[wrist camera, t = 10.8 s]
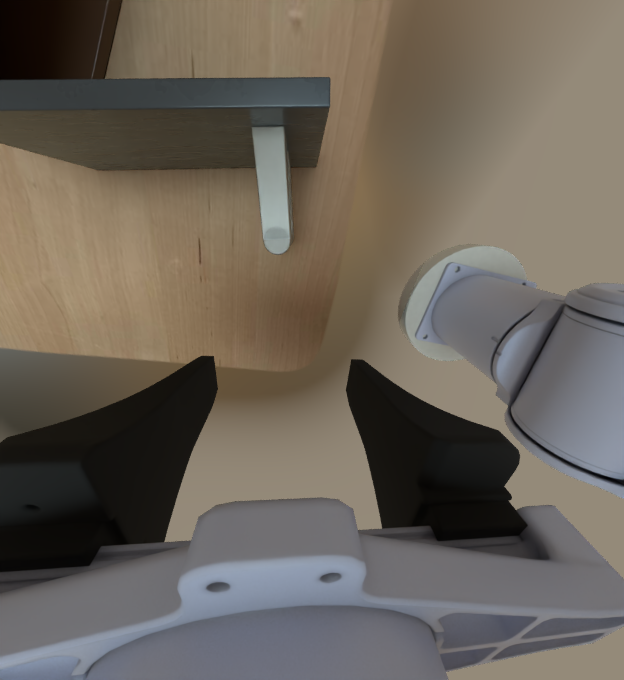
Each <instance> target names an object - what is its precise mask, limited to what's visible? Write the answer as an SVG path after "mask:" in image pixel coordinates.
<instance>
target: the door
mask: <svg viewBox="0 0 624 680" xmlns="http://www.w3.org/2000/svg"><path fill="white" fill-rule="evenodd" d="M329 108H330V78H329V77H295V78H167V79H40V80H0V143H1V144H5V145H9V146H12V147H16V148H19V149H23V150H27V151H30V152H34V153H38V154H41V155H45V156H48V157H52V158H56V159H59V160H63V161H66V162H70V163H74V164H77V165H81V166H85V167H88V168H92V169H95V170H138V169H199V168H256V175H257V185H258V194H259V204H260V214H261V223H262V233H263V242H264V245H265V247H266V249H267V250H268V251H269V252H270V253H272V254H275V255H280V254H283V253H285V252H286V251H287V250H288V249H289V247H290V246H291V244H292V243H293V240H294V228H293V208H292V187H291V167H316V166H317V162H318V158H319V153H320V149H321V144H322V139H323V135H324V130H325V126H326V121H327V117H328V112H329Z"/></svg>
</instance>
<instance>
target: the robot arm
mask: <svg viewBox="0 0 624 680" xmlns="http://www.w3.org/2000/svg"><path fill="white" fill-rule="evenodd" d="M456 267H458V270H457V271H455V268H456ZM521 284H522V285H521ZM536 287H537V285H536V283H535V282H530V281H527V280H523V279H519V278H515V277H511V276H506V275H502V274H498V273H494V272H490V271H486V270H482V269H478V268H474V267H470V266H466V265H462V264H458V263H454V262H450V263H448V264H447V265H446V267H445V269H444V271H443V274H442V276H441V278H440V280H439V282H438V285H437V287H436V289H435V291H434V293H433V296H432V298H431V300H430V302H429V304H428V307H427V309H426V311H425V313H424V315H423V318H422V320H421V322H420V324H419V326H418V329H417V331H416V333H415V337H416V339H418V340H422V341H427V342H432V343H437V344H442V345H447V346H450V347H452V348H453V349H454V350H455V351H457V352H458V353H459V354H460V355H461V356H463V357H464V358H465V359H467V360H468V361H469V362H470V363H471V364H473V365H474V366H475V367H476V368H478V369H479V370H480V371H481V372H482V373H484V374H485V375H486V376H487V377H489V378H490V379H491V380H492V381H494V382H495V383H496V384H497V387H498V388H497V392H496V396H498V397H499V398H500V399H501V400H502V401H503V402H504V403H506V404H507V405H508V408H507V410H506V412H505V422H506V425H507V427H508V428H509V430H510V431H511V433H512V434H513V435H514V437H515V438H516V439H517V440H518V441H519V442H520V443H521V444H522V445H523V446H524V447H525V448H526V449H527V450H529V451H530V452H531V453H532V454H533V455H535V456H536V457H537V458H539V459H540V460H542V461H543V462H544V463H546V464H548V465H549V466H551V467H553V468H554V469H556V470H558V471H560V472H562V473H564V474H566V475H568V476H570V477H573V478H575V479H577V480H580V481H583V482H586V483H589V484H591V485H594V486H596V487H599V488H601V489H603V490H606V491H608V492H610V493H612V494H614V495H616V496H618V497H621V498H623V499H624V284H614V283H593V284H589V285H586V286H585V287H581V288H579V289H574V290H572V291H570V292H569V293H568V294H567V296H562V295H559V294H555V293H551V292H547V291H543V290H540V289H536ZM424 335H426V336H425V337H423V336H424ZM217 390H218V387H217V379H216V370H215V362H214V356H200V357H198V358H197V359H195V360H193V361H192V362H190V363H189V364H187V365H185V366H184V367H182V368H181V369H179V370H177V371H176V372H175V373H173V374H171V375H170V376H168V377H166V378H164V379H163V380H161V381H159V382H157V383H155V384H154V385H152V386H150V387H148V388H146V389H144V390H142V391H140V392H138V393H136V394H134V395H132V396H130V397H128V398H126V399H123V400H121V401H119V402H116V403H113V404H111V405H108V406H106V407H104V408H101V409H99V410H96V411H93V412H91V413H87V414H85V415H82V416H79V417H76V418H73V419H70V420H67V421H64V422H60V423H57V424H54V425H51V426H47V427H43V428H40V429H36V430H33V431H29V432H25V433H22V434H18V435H15V436H10V437H7V438H6V439H5V440H3V441H2V442H1V443H0V680H448V677H447V674H446V672H449V671H453V670H458V669H462V668H467V667H471V666H476V665H481V664H485V663H489V662H494V661H498V660H503V659H508V658H513V657H517V656H522V655H527V654H532V653H537V652H542V651H548V650H553V649H559V648H565V647H571V646H578V645H584V644H591V643H594V642H596V641H598V640H600V639H602V638H603V637H605V636H607V635H609V634H611V633H613V632H614V631H616V630H618V629H620V628H622V627H624V579H623V578H622V577H621V576H620V575H619V574H618V573H617V571H615V569H614V568H613V567H612V566H611V565H610V564H609V563H608V562H607V561H606V560H605V559H604V558H603V557H602V556H601V555H600V554H599V553H598V551H597V550H596V549H595V548H594V547H593V546H592V545H591V544H590V543H589V542H588V541H587V540H586V539H585V538H584V537H583V536H582V535H581V534H580V533H579V531H578V530H577V529H576V528H575V527H574V526H573V525H572V524H571V523H570V522H569V521H568V520H567V519H566V518H565V517H564V516H563V515H562V514H561V512H560V511H559V510H558V509H557V508H556V507H555V506H552V505H541V506H526V507H522V508H520V509H517V510H515V508H514V507H513V506H512V505H511V504H510V502H509V501H508V500H511V499H512V496H511V494H510V493H509V492H508V491H507V489H506V488H505V487H504V486H505V484H506V483H507V482H508V480H509V479H510V477H511V476H512V474H513V473H514V471H515V470H516V468H517V466H518V465H519V459H520V454H519V451H518V449H517V448H516V447H515V446H514V445H513V444H512V443H511V442H510V441H509V440H508V439H507V438H506V437H505V436H504V435H503V434H501V432H499V431H498V430H495V429H492V428H489V427H486V426H483V425H480V424H477V423H474V422H471V421H468V420H465V419H463V418H460V417H457V416H455V415H452V414H450V413H448V412H445V411H443V410H441V409H439V408H437V407H434V406H432V405H430V404H428V403H426V402H424V401H422V400H421V399H419V398H417V397H415V396H413V395H412V394H410V393H408V392H407V391H405V390H403V389H402V388H400V387H399V386H397V385H396V384H394V383H393V382H392V381H390V380H389V379H388V378H386V377H384V376H383V375H382V374H381V373H379V372H378V371H377V370H376V369H374V368H373V367H371V365H369V364H368V363H367V362H365V361H364V360H353V359H352V360H351V365H350V371H349V376H348V382H347V387H346V392H347V397H348V402H349V406H350V409H351V411H352V414H353V417H354V420H355V423H356V425H357V428H358V431H359V434H360V436H361V439H362V442H363V445H364V448H365V451H366V455H367V459H368V463H369V467H370V471H371V476H372V480H373V485H374V489H375V494H376V499H377V503H378V508H379V513H380V518H381V524H382V529H369V530H358V529H357V525H356V520H355V516H354V511H353V509H352V508H350V507H349V506H348V505H346V504H344V503H343V502H341V501H340V500H338V499H330V498H302V499H301V498H300V499H278V500H256V501H235V502H229V503H225V504H220V505H216V506H214V507H213V508H211V509H210V510H208V511H207V512H205V513H204V514H202V515H201V516H200V517H199V518H198V521H197V524H196V527H195V530H194V533H193V537H192V540H191V541H177V542H164V541H165V537H166V533H167V529H168V525H169V522H170V519H171V515H172V512H173V509H174V505H175V502H176V498H177V495H178V492H179V489H180V486H181V482H182V479H183V476H184V473H185V470H186V467H187V464H188V461H189V458H190V456H191V453H192V450H193V448H194V446H195V443H196V441H197V439H198V437H199V434H200V432H201V430H202V428H203V426H204V424H205V422H206V420H207V417H208V415H209V413H210V411H211V409H212V406H213V403H214V400H215V397H216V393H217Z"/></svg>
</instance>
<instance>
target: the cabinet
mask: <svg viewBox="0 0 624 680" xmlns="http://www.w3.org/2000/svg"><path fill="white" fill-rule="evenodd" d="M120 4H121V0H0V80H40V79H104V75H105V71H106V66H107V62H108V58H109V53H110V49H111V44H112V40H113V35H114V31H115V26H116V22H117V17H118V13H119V8H120Z"/></svg>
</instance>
